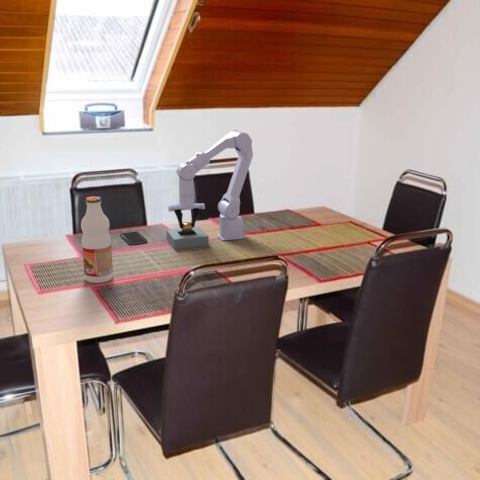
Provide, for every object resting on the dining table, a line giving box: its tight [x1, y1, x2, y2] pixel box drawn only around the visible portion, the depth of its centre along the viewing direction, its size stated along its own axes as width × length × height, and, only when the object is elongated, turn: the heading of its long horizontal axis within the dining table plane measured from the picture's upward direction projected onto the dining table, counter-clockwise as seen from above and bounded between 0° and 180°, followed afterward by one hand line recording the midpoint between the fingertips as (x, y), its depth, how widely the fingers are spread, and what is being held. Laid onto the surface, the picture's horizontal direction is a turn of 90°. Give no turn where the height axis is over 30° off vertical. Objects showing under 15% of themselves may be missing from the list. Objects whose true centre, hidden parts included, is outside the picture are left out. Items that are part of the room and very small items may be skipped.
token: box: [182, 221, 193, 232], centre depth 224 cm, size 4×4×3 cm
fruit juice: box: [80, 195, 114, 284], centre depth 184 cm, size 9×9×28 cm
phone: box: [119, 231, 148, 246], centre depth 229 cm, size 8×1×15 cm
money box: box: [165, 226, 210, 250], centre depth 225 cm, size 14×14×4 cm
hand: (187, 227), depth 224 cm, fingers closed on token, 4 cm apart
